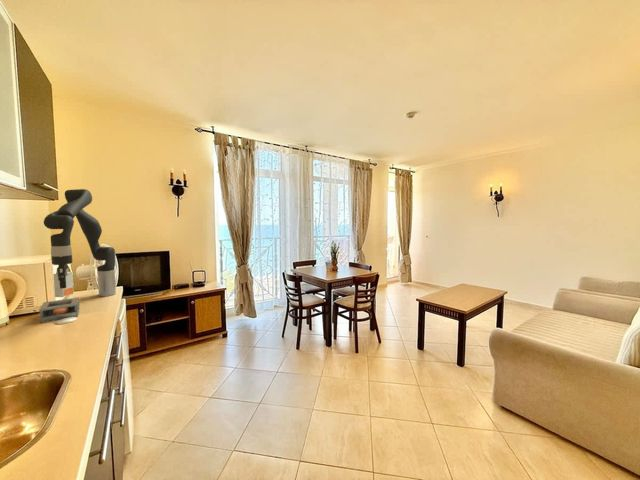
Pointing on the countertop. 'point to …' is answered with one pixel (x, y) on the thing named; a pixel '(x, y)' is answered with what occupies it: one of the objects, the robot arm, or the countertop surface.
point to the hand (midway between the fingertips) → (64, 286)
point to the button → (60, 311)
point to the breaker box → (48, 308)
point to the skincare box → (69, 285)
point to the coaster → (66, 320)
